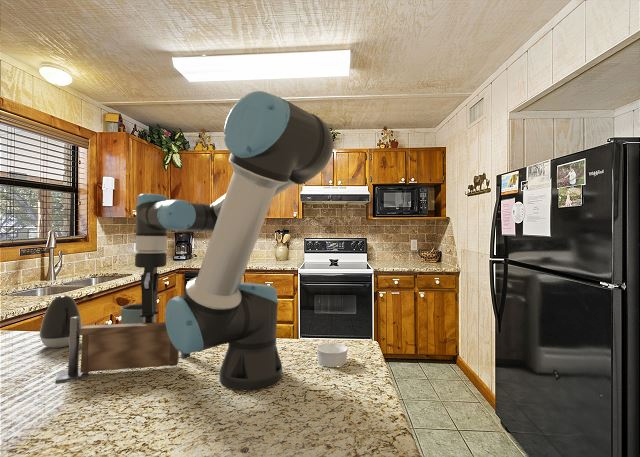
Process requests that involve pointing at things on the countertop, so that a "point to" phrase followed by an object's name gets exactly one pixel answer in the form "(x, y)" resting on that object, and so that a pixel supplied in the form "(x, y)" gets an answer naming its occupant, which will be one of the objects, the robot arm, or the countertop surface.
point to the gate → (126, 347)
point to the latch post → (185, 355)
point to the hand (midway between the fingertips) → (148, 340)
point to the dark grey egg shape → (58, 322)
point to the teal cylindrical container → (132, 314)
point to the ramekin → (332, 354)
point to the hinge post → (73, 354)
